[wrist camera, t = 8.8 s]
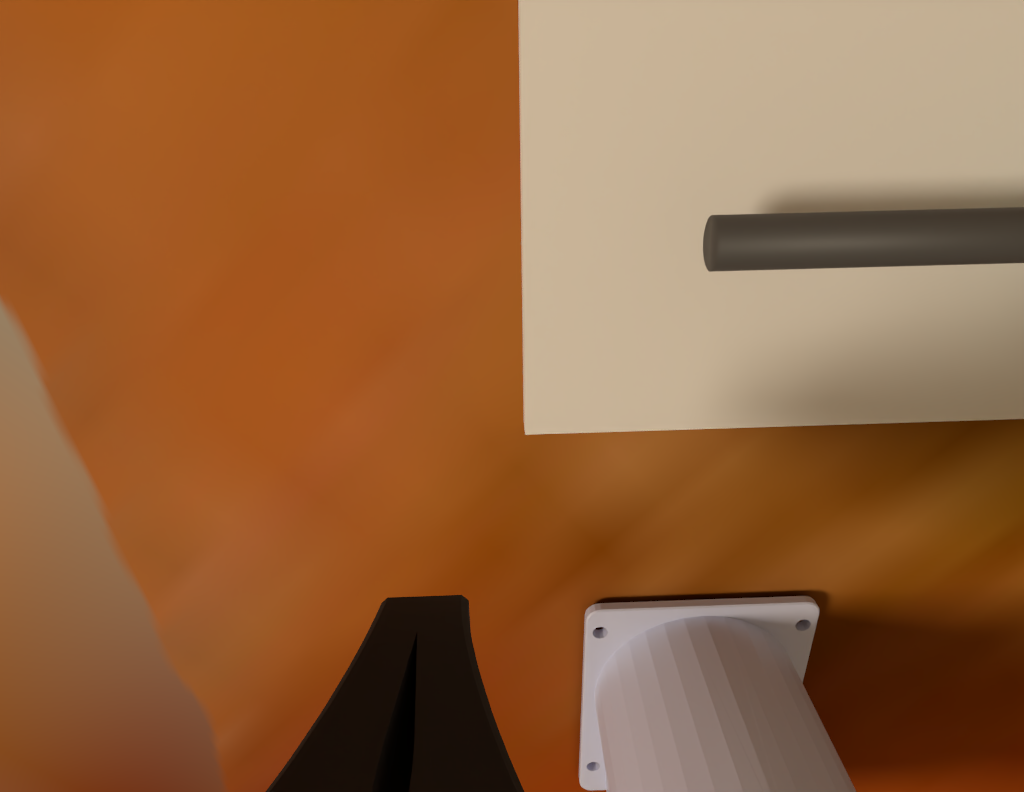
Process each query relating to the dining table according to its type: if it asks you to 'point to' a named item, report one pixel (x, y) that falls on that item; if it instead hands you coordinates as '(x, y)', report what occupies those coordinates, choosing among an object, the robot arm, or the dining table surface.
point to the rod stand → (771, 213)
